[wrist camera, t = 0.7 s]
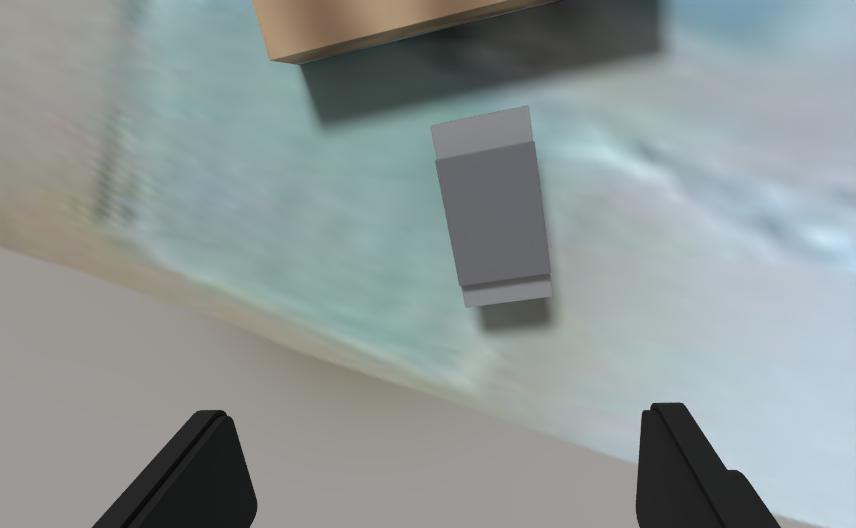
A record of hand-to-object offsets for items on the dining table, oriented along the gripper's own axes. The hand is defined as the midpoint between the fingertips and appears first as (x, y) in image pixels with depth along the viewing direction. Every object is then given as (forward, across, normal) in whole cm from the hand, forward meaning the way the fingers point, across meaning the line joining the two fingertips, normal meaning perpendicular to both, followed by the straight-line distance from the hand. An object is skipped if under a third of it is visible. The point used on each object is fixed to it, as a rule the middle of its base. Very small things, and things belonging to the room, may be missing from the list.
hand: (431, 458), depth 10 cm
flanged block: (+20, -2, -1) cm, 21 cm away
